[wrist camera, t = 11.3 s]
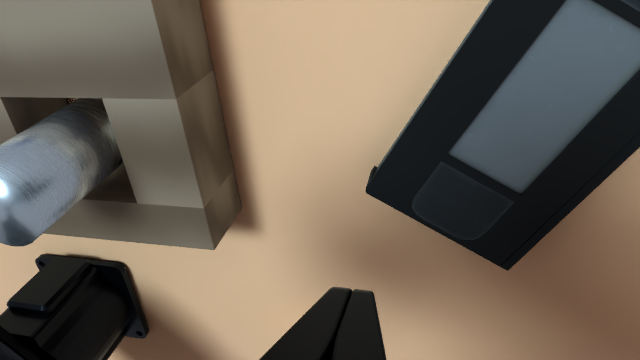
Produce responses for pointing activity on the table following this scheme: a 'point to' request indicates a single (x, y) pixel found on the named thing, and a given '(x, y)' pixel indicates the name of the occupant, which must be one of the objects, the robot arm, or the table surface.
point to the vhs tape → (519, 124)
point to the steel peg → (54, 168)
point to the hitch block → (128, 112)
